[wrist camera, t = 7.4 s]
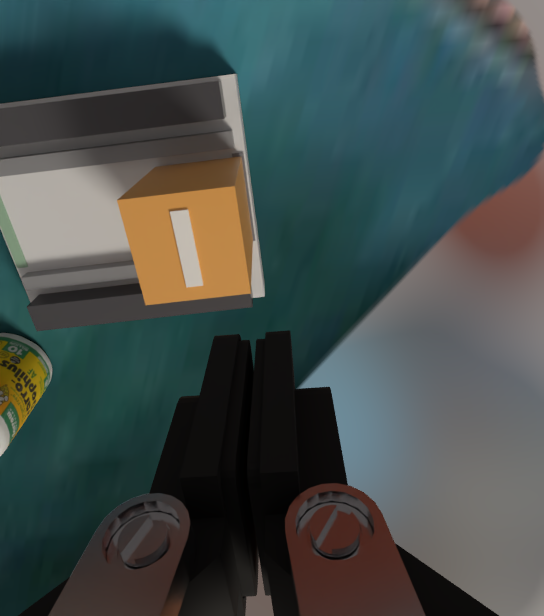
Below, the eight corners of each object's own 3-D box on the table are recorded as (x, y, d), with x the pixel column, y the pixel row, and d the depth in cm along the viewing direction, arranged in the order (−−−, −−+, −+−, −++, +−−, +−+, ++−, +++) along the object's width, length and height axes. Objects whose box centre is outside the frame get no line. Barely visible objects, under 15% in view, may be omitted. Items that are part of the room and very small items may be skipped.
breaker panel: (-25, 107, 24) (-70, 112, 21) (236, 74, 23) (233, 73, 20) (51, 307, 29) (26, 335, 26) (264, 283, 29) (265, 308, 26)
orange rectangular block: (155, 166, 23) (116, 200, 17) (241, 156, 23) (234, 186, 17) (173, 248, 25) (145, 306, 19) (253, 239, 25) (250, 294, 19)
